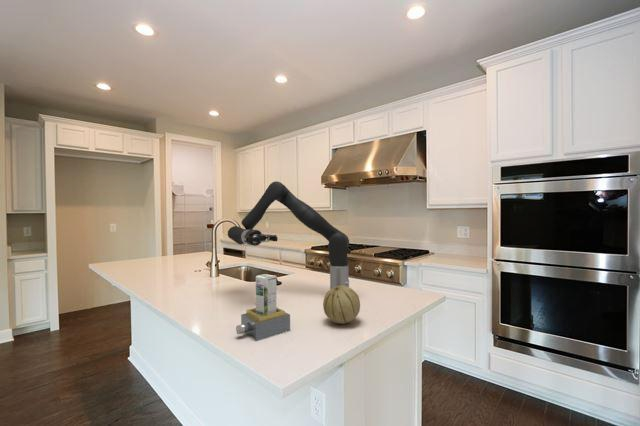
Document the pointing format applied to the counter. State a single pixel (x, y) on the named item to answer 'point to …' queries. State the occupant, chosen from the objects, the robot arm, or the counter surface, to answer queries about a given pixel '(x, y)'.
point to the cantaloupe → (341, 304)
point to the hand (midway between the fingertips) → (268, 239)
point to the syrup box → (265, 294)
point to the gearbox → (263, 324)
